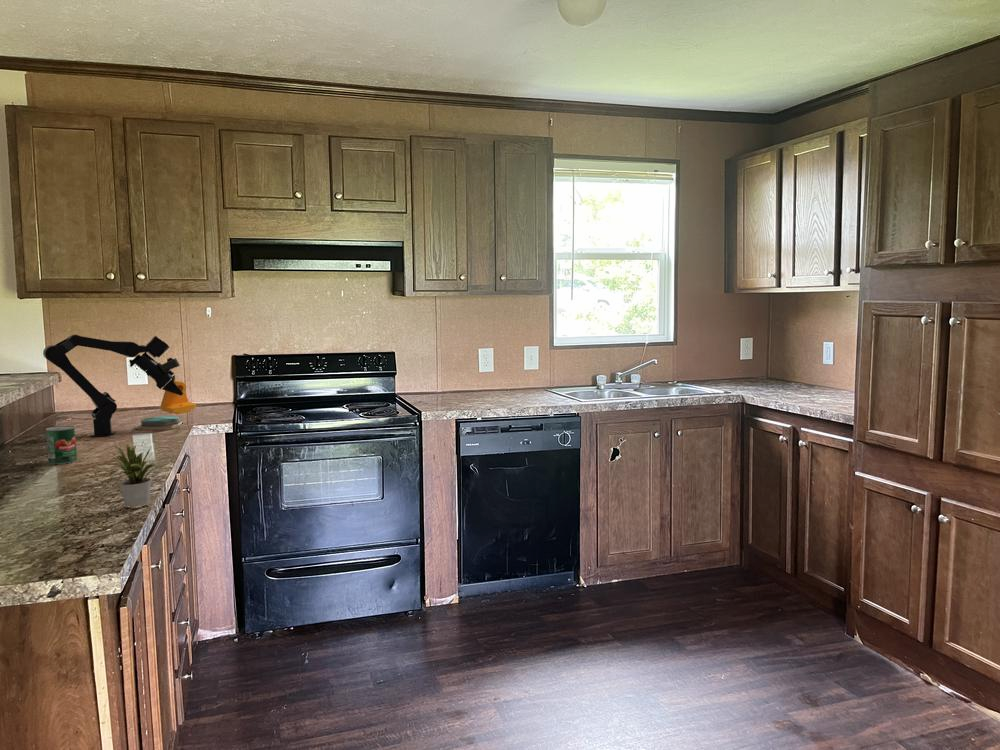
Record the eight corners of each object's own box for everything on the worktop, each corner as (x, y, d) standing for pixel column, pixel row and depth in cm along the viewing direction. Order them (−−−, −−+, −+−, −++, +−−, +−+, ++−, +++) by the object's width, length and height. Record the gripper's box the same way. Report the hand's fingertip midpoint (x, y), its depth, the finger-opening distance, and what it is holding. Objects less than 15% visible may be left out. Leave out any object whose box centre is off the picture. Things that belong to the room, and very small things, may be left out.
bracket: (171, 415, 287) (170, 385, 285) (160, 412, 291) (159, 381, 289) (196, 410, 296) (196, 380, 294) (185, 407, 300) (184, 378, 298)
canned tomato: (58, 459, 240) (55, 425, 239) (82, 459, 240) (79, 425, 239) (42, 465, 232) (39, 430, 231) (67, 464, 232) (64, 429, 231)
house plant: (85, 511, 181) (80, 444, 179) (132, 496, 194) (127, 434, 192) (130, 516, 176) (125, 448, 174) (175, 500, 189) (171, 437, 187)
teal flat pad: (170, 429, 291) (170, 421, 291) (134, 429, 291) (134, 422, 291) (185, 422, 305) (185, 415, 304) (151, 423, 305) (150, 416, 304)
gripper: (164, 353, 281) (197, 381, 286) (166, 349, 299) (197, 376, 304) (142, 374, 279) (175, 402, 284) (146, 370, 297) (177, 396, 302)
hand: (182, 393), depth 294 cm, fingers closed on bracket, 6 cm apart
